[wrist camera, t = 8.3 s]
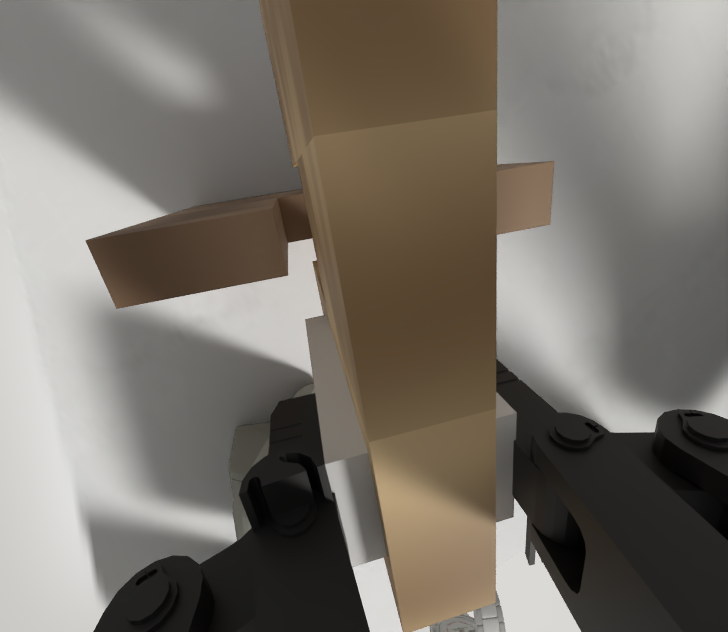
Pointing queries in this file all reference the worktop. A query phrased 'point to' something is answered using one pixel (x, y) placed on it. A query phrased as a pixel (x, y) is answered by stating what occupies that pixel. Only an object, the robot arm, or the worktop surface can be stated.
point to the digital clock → (250, 460)
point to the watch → (474, 621)
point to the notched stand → (259, 239)
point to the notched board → (407, 264)
